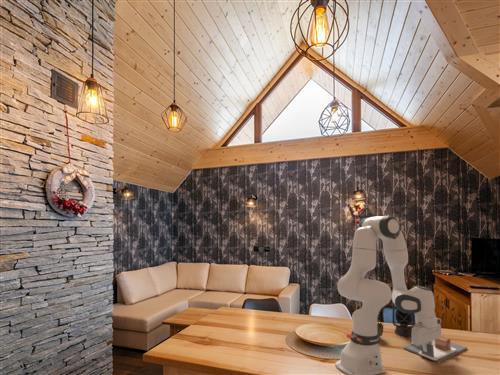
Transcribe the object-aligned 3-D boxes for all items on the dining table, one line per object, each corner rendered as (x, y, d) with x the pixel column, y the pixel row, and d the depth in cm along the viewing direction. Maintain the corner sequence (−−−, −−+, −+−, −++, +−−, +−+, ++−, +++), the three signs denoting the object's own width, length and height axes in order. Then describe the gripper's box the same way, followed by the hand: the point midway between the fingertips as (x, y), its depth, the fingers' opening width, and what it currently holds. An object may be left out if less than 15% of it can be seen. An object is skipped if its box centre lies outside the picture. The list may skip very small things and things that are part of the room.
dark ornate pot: (385, 341, 160) (384, 326, 161) (371, 340, 161) (370, 325, 162) (382, 336, 167) (381, 322, 168) (368, 335, 169) (368, 321, 169)
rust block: (445, 351, 143) (445, 340, 144) (435, 347, 148) (434, 337, 148) (450, 349, 146) (450, 338, 147) (440, 345, 150) (439, 335, 151)
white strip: (435, 360, 136) (434, 347, 136) (418, 353, 143) (417, 341, 143) (456, 350, 146) (455, 338, 146) (439, 344, 153) (439, 333, 153)
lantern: (393, 335, 168) (390, 282, 171) (391, 329, 178) (389, 279, 181) (418, 338, 164) (414, 284, 167) (414, 331, 174) (411, 280, 177)
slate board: (438, 362, 136) (438, 360, 136) (404, 349, 150) (403, 347, 151) (467, 349, 150) (467, 347, 150) (432, 337, 165) (432, 336, 165)
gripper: (420, 326, 133) (422, 358, 132) (443, 319, 144) (445, 348, 142) (406, 322, 139) (408, 352, 137) (429, 315, 149) (431, 343, 148)
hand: (427, 350), depth 140 cm, fingers closed on white strip, 2 cm apart
